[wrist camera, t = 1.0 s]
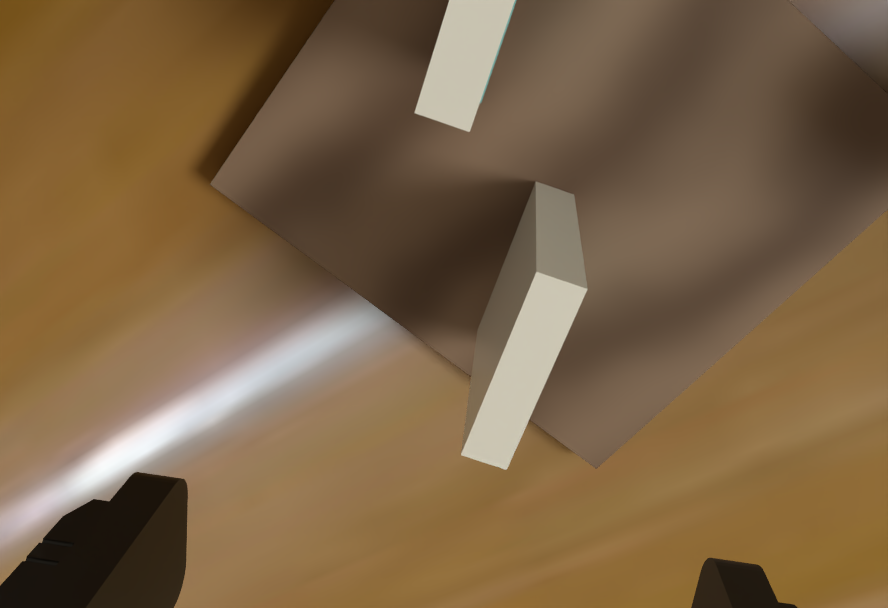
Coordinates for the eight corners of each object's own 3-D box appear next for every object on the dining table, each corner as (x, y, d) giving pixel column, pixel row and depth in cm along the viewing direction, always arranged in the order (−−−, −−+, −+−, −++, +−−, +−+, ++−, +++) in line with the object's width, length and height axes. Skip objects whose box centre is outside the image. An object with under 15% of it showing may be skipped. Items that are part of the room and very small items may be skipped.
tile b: (477, 330, 36) (460, 455, 28) (535, 181, 33) (536, 271, 25) (513, 342, 36) (508, 470, 28) (575, 195, 33) (589, 289, 25)
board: (219, 175, 35) (209, 184, 34) (511, -254, 28) (511, -261, 27) (594, 453, 39) (596, 468, 38) (936, 144, 32) (950, 153, 31)
